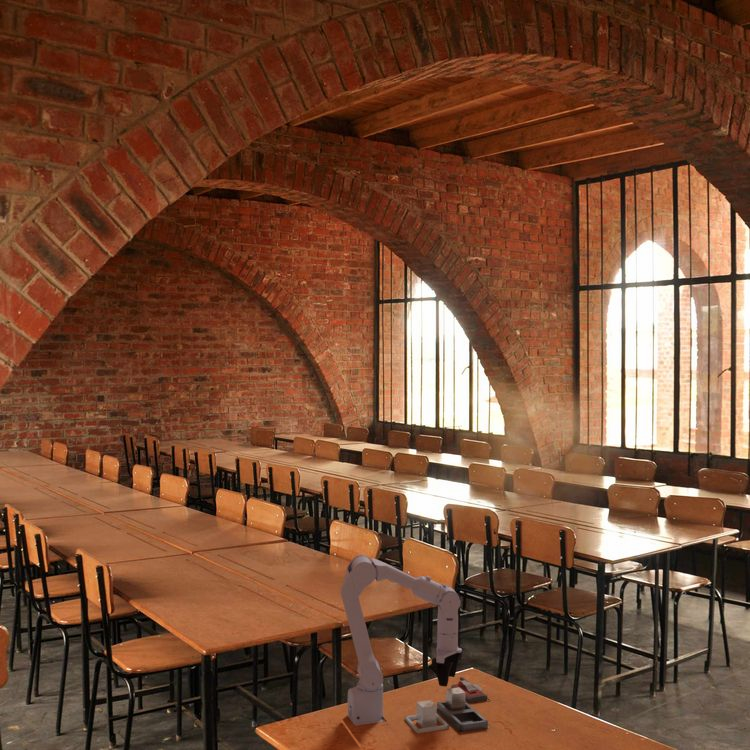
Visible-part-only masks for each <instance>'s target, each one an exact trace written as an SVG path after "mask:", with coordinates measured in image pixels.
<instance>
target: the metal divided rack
mask: <svg viewBox="0 0 750 750" xmlns="http://www.w3.org/2000/svg"><path fill="white" fill-rule="evenodd" d="M436 706H437V714H438V715H439V716H440V717H441V718H442V717H443V719H444V720H445V721H446V722H448V724H449V725H450V726H452V728H454V730H455V731H457V732H458V733H466V732H472V731H473V732H474V731H481V730H486V729H490V726H489V721H488V720H487V719H486V718H485V717H483V716H482V715H481V713H479V712H478V710H476V709H475V708H474V707H472V706H471V705H470V703H468V702H467V701H465V710H459V711H452V712H450V711H449V710H448V709H447V708H446V700H445V701H437V703H436Z"/></svg>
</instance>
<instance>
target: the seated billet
mask: <svg viewBox="0 0 750 750" xmlns="http://www.w3.org/2000/svg"><path fill="white" fill-rule="evenodd" d="M445 691H446V692H445V699H446V700H445V701H446V708H447V709H448V710H449V711H450V712H452V711H459V710H465V698H466V693H465V692H464V691H463V690H462V689H461V688H460V687H458V688H451V687H450V688H446V690H445Z"/></svg>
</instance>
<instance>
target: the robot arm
mask: <svg viewBox="0 0 750 750" xmlns="http://www.w3.org/2000/svg"><path fill="white" fill-rule="evenodd" d="M383 580H387V581H390V582H393V583H396V584H398V585H401V586H403V587H405V588H408V589H411V592H412V595H413V596H414V597H417V598H419V599H421V600H424V601H426V602H428V603H431V604H433V605H438V606H437V621H436V622H437V623H436V624H437V626H436V627H437V632H436V633H437V634H436V635H437V637H436V640H437V641H436V657H434V658H433V659H432V660H431V664H432V666H433V668H434V670H435V672H436V677H437V682H438V685H439V686H440V687H447V686H448V684H449V679H450V678H449V677H451V678H455V676H456V673H457V668H458V665H459V664H458V663H459V660H460V657H461V656H462V653H463V649H462V648H461V647H459V613H458V612H459V608H460V607H461V603H462V600H461V599H460V596H459V594H458V593H457V592H456V591H455V589H454V588H453V587H451V586H450V585H447V584H445V583H439V582H436V581H434V580H432V578H431V576H429V575H426V576H424V575H420V576H417V577H414V576H412V575H411V574H408V573H407V572H404V571H402V570H400V569H398V568H396V567H394V566H392V565H391V564H388V563H386V562H383V561H382V560H379V559H377V558H373V557H371V558H370V557H369V556H367V555H366V554H358V555H356V556H355V557H353V559H352V560H351V561H350V563H349V564H348V565H347V567H346V571H345V575H344V577H343V581H342V584H341V587H340V595H341V599H342V604H343V607H344V610H345V615H346V619H347V623H348V625H349V629H350V634H351V639H352V642H353V645H354V646H353V647H354V649H355V653H356V657H357V660H358V661H357V666H356V667H357V668H356V670H357V674H358V676H359V680H358V682H357V683H356V686H354V687H351V688H348V690H347V713H346V716H347V717H348V718H349V719H350V721H351V722H352V724H353V725H354V726H362V725H368V724H369V725H370V724H375V723H382V722H387V720H386V719H385V718H384V683H383V682H384V675H383V673H382V670H381V668H380V663H379V661H378V660H377V659H376V658H375V656H374V651H373V648H372V644H371V639H370V636H369V632H368V628H367V625H366V621H365V620H366V619H365V616H364V612H363V609H362V606H361V602H360V601H361V600H360V598H359V596H360V595H361V594H362V592H363V591H364V589H365V588H367V587H368V586H369V585H371V584H372V583H373V582H374V581H376V582H377V583H378V582H382V581H383Z"/></svg>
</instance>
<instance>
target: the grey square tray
mask: <svg viewBox="0 0 750 750" xmlns="http://www.w3.org/2000/svg"><path fill="white" fill-rule="evenodd" d="M412 720H417V714H415V715H414V714H413V715H406V716H404V721H405V722H406V724H408V725H409V726H410V727H411V729H412V730H413V731H414V732H415V733H416V734H421V733H422V734H423V733H431V732H435V731H444V730H449V729H450V724H449V723H447V721H446V720H445V719H444V718H442V716H441V715H440V714H439V713H437V722H439V723H440V724H441V725H436V726H434V727H427V728H422V727H421V728H418V727H417V725H416V724H415V723H414V722H413V721H412Z"/></svg>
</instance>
